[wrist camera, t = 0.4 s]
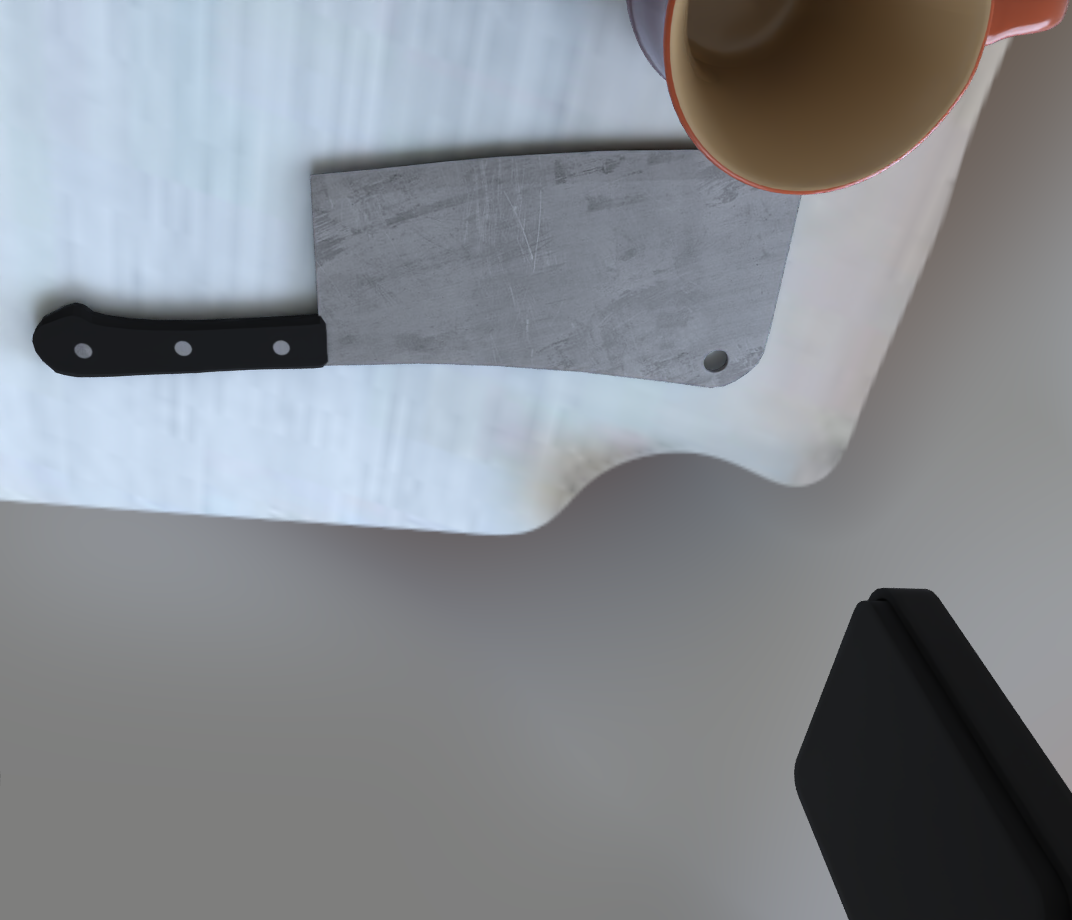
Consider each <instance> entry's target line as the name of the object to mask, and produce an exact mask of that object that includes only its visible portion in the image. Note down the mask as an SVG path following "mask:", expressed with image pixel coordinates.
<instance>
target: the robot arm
mask: <svg viewBox="0 0 1072 920" xmlns="http://www.w3.org/2000/svg"><path fill="white" fill-rule="evenodd" d="M794 775H795V776H794V777H795V786H796V790H797V793H798V796H799V799H800V801H801V804H802V806H803V809H804V811H805V813H806V816H807V818H808V821H809V823H810V826H811V828H812V831H813V833H814V836H815V838H816V840H817V843H818V845H819V848H820V850H821V853H822V855H823V858H824V860H825V862H826V865H827V867H828V870H829V872H830V875H831V877H832V880H833V882H834V885H835V887H836V889H837V892H838V894H839V897H840V899H841V902H842V904H843V907H844V909H845V912H846V914H847V917H848V919H849V920H1072V793H1071V791H1070V790H1069V788H1068V787H1067V785H1066V784H1065V783H1064V781H1063V780H1062V778H1061V777H1060V775H1059V774H1058V772H1057V771H1056V769H1055V768H1054V766H1053V765H1052V763H1051V762H1050V760H1049V759H1048V758H1047V756H1046V755H1045V753H1044V752H1043V750H1042V749H1041V747H1040V746H1039V744H1038V743H1037V741H1036V740H1035V738H1034V737H1033V736H1032V734H1031V733H1030V731H1029V730H1028V728H1027V727H1026V725H1025V724H1024V722H1023V721H1022V720H1021V718H1020V716H1019V715H1018V714H1017V712H1016V711H1015V709H1014V708H1013V706H1012V705H1011V703H1010V702H1009V701H1008V699H1007V698H1006V696H1005V694H1004V693H1003V692H1002V690H1001V689H1000V687H999V686H998V684H997V683H996V681H995V680H994V679H993V677H992V675H991V674H990V672H989V671H988V670H987V668H986V667H985V665H984V664H983V662H982V661H981V659H980V658H979V656H978V655H977V653H976V652H975V650H974V649H973V648H972V646H971V645H970V643H969V642H968V640H967V639H966V637H965V636H964V634H963V633H962V632H961V630H960V629H959V627H958V626H957V624H956V623H955V621H954V620H953V618H952V617H951V615H950V614H949V613H948V611H947V609H946V608H945V607H944V605H943V604H942V602H941V601H940V599H939V598H938V597H937V596H936V595H935V594H934V593H933V592H932V591H930V590H928V589H905V588H881V589H877V590H875V591H874V592H873V593H872V594H871V596H870V598H869V599H868V601H861V602H860V603H858V604H857V606H856V608H855V610H854V612H853V614H852V617H851V619H850V622H849V625H848V627H847V630H846V632H845V635H844V638H843V640H842V643H841V645H840V648H839V650H838V653H837V656H836V658H835V661H834V664H833V666H832V669H831V671H830V674H829V676H828V679H827V682H826V684H825V687H824V689H823V692H822V695H821V697H820V700H819V702H818V705H817V707H816V710H815V712H814V715H813V718H812V720H811V723H810V725H809V728H808V731H807V733H806V736H805V739H804V741H803V743H802V746H801V749H800V751H799V754H798V756H797V759H796V763H795V770H794Z"/></svg>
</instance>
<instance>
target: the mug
mask: <svg viewBox="0 0 1072 920" xmlns="http://www.w3.org/2000/svg"><path fill="white" fill-rule="evenodd" d="M626 2H627V9H628V14H629V18H630V22H631V25H632V28H633V31H634V33H635V36H636V39H637V41H638V43H639V46H640V48H641V50H642V52H643V53H644V55H645V57H646V58H647V60H648V61H649V63H650V64H651V65H652V67H653V68H654V69H655V70H656V71H657V72H658V73H659V75H660V76H662V77H663V78H664V79H665V80H666V82H667V86H668V91H669V94H670V97H671V100H672V103H673V106H674V109H675V111H676V113H677V116H678V118H679V120H680V122H681V124H682V126H683V128H684V129H685V131H686V133H687V134H688V136H689V137H690V139H691V140H692V142H693V143H694V144H695V146H696V147H697V148H698V149H699V150H700V151H701V153H702V154H703V155H704V156H705V157H706V158H707V159H708V160H709V161H710V162H712V163H713V164H714V165H715V166H716V167H717V168H719V169H720V170H722V171H723V172H725V173H726V174H727V175H729V176H731V177H733V178H734V179H736V180H738V181H740V182H742V183H744V184H747V185H749V186H752V187H755V188H758V189H761V190H765V191H769V192H774V193H780V194H791V195H808V194H818V193H825V192H831V191H835V190H839V189H843V188H846V187H849V186H852V185H855V184H858V183H860V182H862V181H865V180H867V179H869V178H872V177H873V176H875V175H877V174H879V173H881V172H883V171H885V170H886V169H888V168H889V167H891V166H892V165H894V164H896V163H897V162H899V161H900V160H901V159H903V158H904V157H905V156H907V155H908V154H909V153H911V152H912V151H913V150H914V149H915V148H916V147H918V146H919V145H920V144H921V143H922V142H923V141H924V140H925V139H926V138H927V137H928V136H929V135H930V134H931V133H932V132H933V131H934V130H935V129H936V128H937V127H938V126H939V124H940V123H941V122H942V121H943V120H944V119H945V117H946V116H947V115H948V114H949V113H950V111H951V110H952V109H953V107H954V106H955V105H956V103H957V102H958V101H959V99H960V98H961V96H962V95H963V94H964V92H965V91H966V89H967V87H968V86H969V84H970V82H971V80H972V78H973V76H974V74H975V72H976V70H977V67H978V64H979V62H980V59H981V56H982V53H983V50H984V47H985V46H987V45H990V44H992V43H995V42H997V41H999V40H1002V39H1005V38H1008V37H1013V36H1018V35H1024V34H1031V33H1038V32H1042V31H1047V30H1049V29H1052V28H1053V27H1055V26H1057V25H1058V24H1059V23H1060V22H1061V21H1062V20H1063V18H1064V16H1065V14H1066V11H1067V8H1068V4H1069V0H626Z"/></svg>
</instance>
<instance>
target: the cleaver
mask: <svg viewBox="0 0 1072 920" xmlns="http://www.w3.org/2000/svg"><path fill="white" fill-rule="evenodd" d="M310 177H311V197H312V215H313V232H314V249H315V266H316V283H317V300H318V314H311V315H295V316H278V317H260V318H239V319H216V320H148V319H132V318H124V317H117V316H110V315H104V314H101V313H97V312H94V311H92V310H91V309H90V308H88V307H87V306H85V305H84V304H80V303H73V304H70V305H66V306H64V307H62V308H60V309H58V310H56V311H54V312H52V313H50V314H48V315H46V316H44V317H43V319H42V320H41V322H40V323H39V325H38V326H37V327H36V329H35V332H34V334H33V340H32V342H33V345H34V348H35V351H36V353H37V354H38V355H39V357H40V358H41V359H42V361H43V362H45V363H46V364H47V365H48V366H49V367H50V368H51V369H53V370H54V371H55V372H56V373H59V374H63V375H68V376H74V377H115V376H132V375H154V374H182V373H202V372H216V371H236V370H258V369H304V368H321V367H323V366H329V365H379V364H418V363H420V364H458V365H484V366H505V367H519V368H533V369H547V370H561V371H576V372H587V373H595V374H604V375H612V376H621V377H629V378H638V379H646V380H655V381H663V382H671V383H678V384H686V385H694V386H701V387H709V388H713V387H721V386H725V385H728V384H730V383H732V382H735V381H736V380H738V379H739V378H741V377H742V376H744V375H745V374H747V373H748V372H749V371H750V370H751V369H753V368H754V367H755V366H756V365H757V364H758V363H759V361H760V359H761V357H762V355H763V353H764V351H765V347H766V343H767V340H768V336H769V333H770V329H771V324H772V320H773V316H774V311H775V307H776V303H777V298H778V294H779V290H780V286H781V281H782V277H783V273H784V268H785V264H786V260H787V255H788V251H789V247H790V242H791V238H792V234H793V230H794V225H795V221H796V217H797V212H798V208H799V204H800V199H801V195H791V194H780V193H774V192H769V191H765V190H761V189H758V188H755V187H752V186H749V185H747V184H744V183H742V182H740V181H738V180H736V179H734V178H733V177H731V176H729V175H727V174H726V173H725V172H723V171H722V170H720V169H719V168H717V167H716V166H715V165H714V164H713V163H712V162H710V161H709V160H708V159H707V158H706V157H705V156H704V155H703V154H702V153H701V151H700V150H626V151H591V152H573V153H556V154H538V155H519V156H503V157H491V158H480V159H468V160H457V161H446V162H437V163H427V164H418V165H409V166H399V167H389V168H380V169H370V170H361V171H349V172H338V173H326V174H314V175H310ZM715 350H721V351H724V352H725V353H726V354H727V361H726V363H725V364H724V365H723V367H721V368H719V369H717V370H708V369H707V368H705V367H704V360H705V357H706V356H707V355H708V354H709V353H710V352H712V351H715Z"/></svg>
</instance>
